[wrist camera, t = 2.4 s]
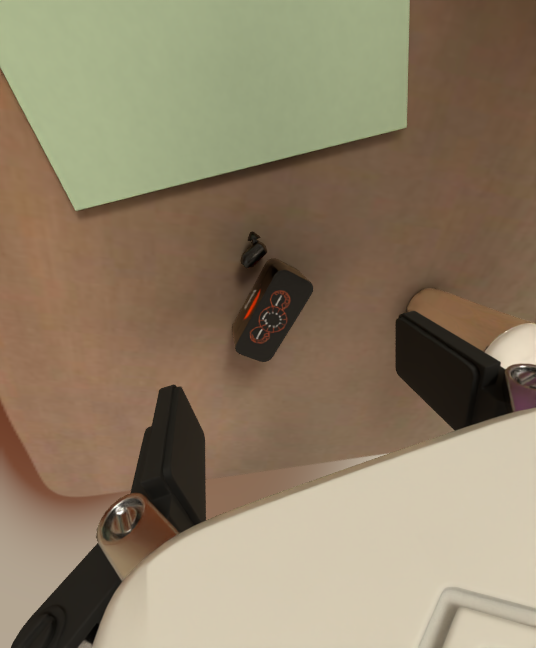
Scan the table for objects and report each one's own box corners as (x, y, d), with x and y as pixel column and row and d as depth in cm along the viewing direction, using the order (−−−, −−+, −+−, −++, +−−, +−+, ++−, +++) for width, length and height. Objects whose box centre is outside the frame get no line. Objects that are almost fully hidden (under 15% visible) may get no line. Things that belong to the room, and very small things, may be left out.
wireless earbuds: (307, 260, 20) (323, 274, 17) (260, 340, 22) (268, 364, 19) (249, 229, 18) (258, 238, 15) (205, 319, 21) (205, 342, 18)
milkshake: (385, 330, 24) (485, 415, 16) (418, 273, 22) (554, 333, 14) (424, 341, 26) (535, 424, 17) (458, 288, 24) (604, 351, 15)
